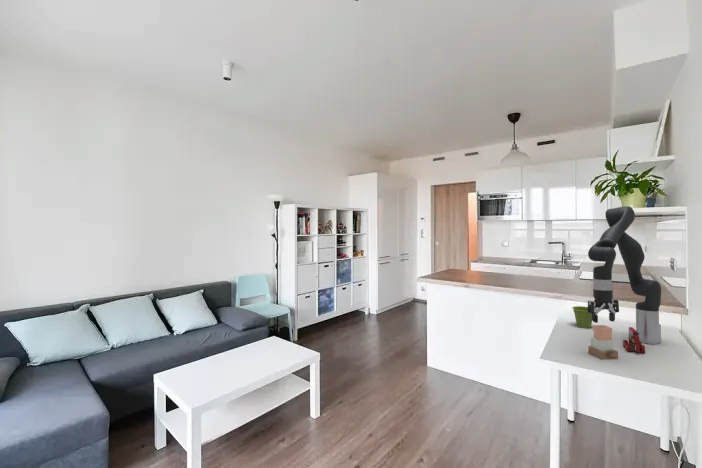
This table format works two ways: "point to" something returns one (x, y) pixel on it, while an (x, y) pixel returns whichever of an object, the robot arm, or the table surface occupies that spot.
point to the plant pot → (582, 316)
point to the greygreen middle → (601, 344)
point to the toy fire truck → (633, 342)
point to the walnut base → (603, 353)
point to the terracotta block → (602, 332)
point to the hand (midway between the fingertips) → (603, 321)
